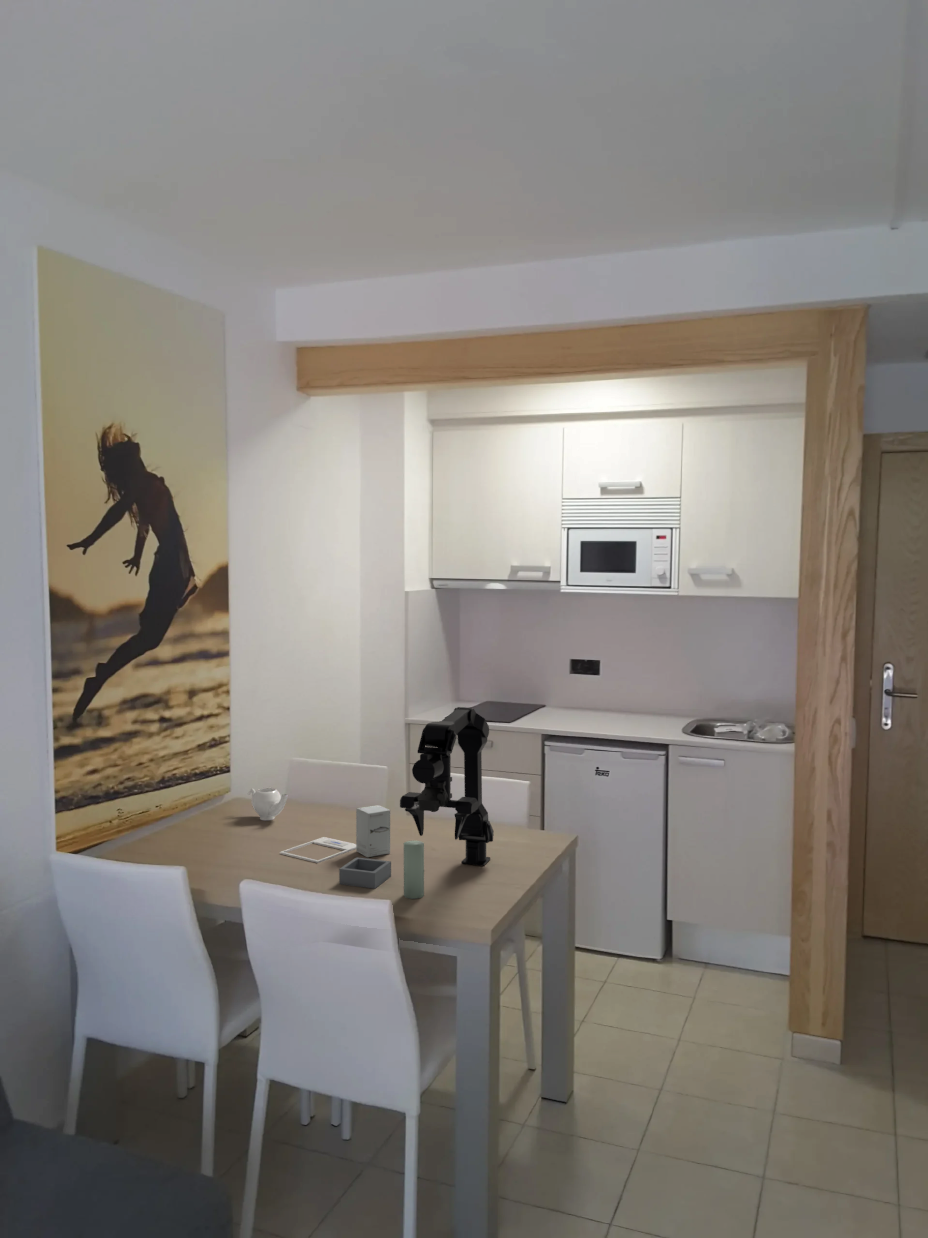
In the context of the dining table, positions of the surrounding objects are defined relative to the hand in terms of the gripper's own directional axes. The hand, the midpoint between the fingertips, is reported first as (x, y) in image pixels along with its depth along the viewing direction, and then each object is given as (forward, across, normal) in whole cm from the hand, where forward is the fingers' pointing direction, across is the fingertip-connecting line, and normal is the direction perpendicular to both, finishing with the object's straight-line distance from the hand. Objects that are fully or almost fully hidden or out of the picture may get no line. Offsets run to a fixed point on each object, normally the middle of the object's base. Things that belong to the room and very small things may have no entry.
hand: (438, 837), depth 238 cm
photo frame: (+15, -45, +23) cm, 53 cm away
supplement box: (+15, -30, +26) cm, 43 cm away
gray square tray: (+15, -22, +4) cm, 27 cm away
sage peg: (+15, -6, -2) cm, 16 cm away
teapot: (+15, -77, +47) cm, 91 cm away
